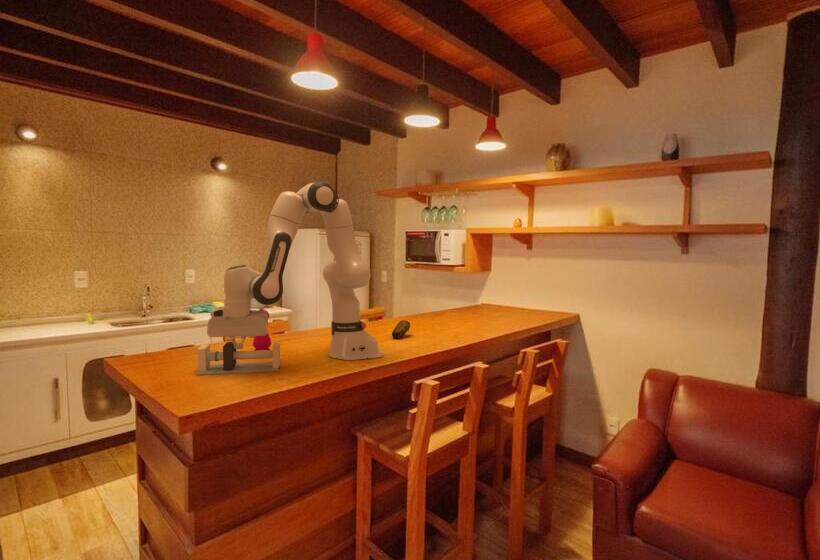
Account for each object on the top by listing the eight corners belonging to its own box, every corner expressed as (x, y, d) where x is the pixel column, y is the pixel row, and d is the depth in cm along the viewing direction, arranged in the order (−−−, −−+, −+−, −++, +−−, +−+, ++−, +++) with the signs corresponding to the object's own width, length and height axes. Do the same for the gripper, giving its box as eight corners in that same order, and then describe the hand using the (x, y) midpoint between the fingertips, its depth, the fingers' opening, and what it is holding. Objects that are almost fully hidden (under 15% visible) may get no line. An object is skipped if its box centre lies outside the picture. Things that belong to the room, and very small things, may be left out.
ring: (236, 363, 162) (235, 341, 162) (232, 369, 155) (231, 346, 154) (227, 363, 162) (227, 341, 161) (223, 369, 154) (222, 346, 153)
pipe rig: (280, 362, 168) (280, 340, 167) (277, 371, 156) (277, 347, 155) (204, 366, 162) (204, 343, 161) (196, 375, 150) (195, 350, 150)
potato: (385, 337, 217) (385, 321, 216) (403, 334, 226) (403, 318, 225) (396, 340, 211) (396, 323, 210) (415, 336, 220) (415, 320, 219)
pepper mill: (265, 356, 177) (264, 307, 176) (249, 355, 179) (248, 306, 177) (274, 352, 184) (273, 305, 183) (258, 351, 186) (258, 304, 184)
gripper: (268, 308, 163) (269, 345, 164) (209, 309, 158) (210, 347, 159) (267, 311, 156) (267, 349, 157) (205, 312, 152) (206, 351, 153)
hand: (238, 348), depth 158 cm, fingers closed
